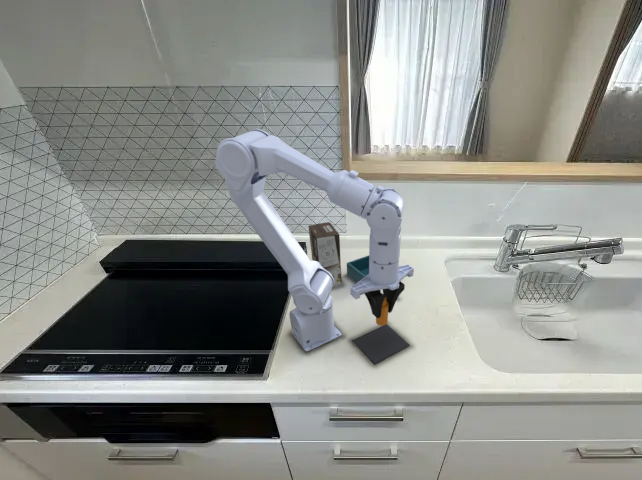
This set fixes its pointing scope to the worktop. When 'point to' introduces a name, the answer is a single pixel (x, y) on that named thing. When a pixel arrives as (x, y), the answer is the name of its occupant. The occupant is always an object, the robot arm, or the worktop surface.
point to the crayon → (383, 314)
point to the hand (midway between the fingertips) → (381, 312)
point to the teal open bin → (358, 268)
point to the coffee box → (326, 248)
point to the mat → (380, 343)
